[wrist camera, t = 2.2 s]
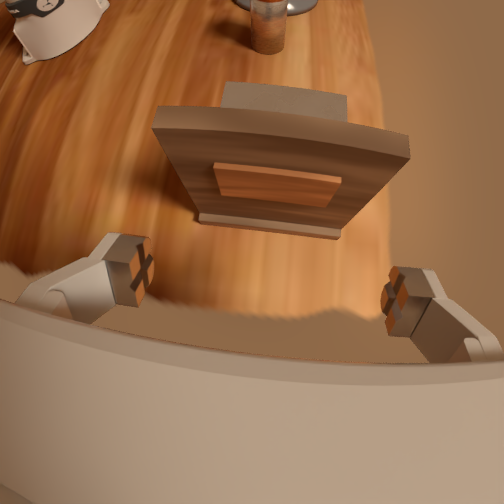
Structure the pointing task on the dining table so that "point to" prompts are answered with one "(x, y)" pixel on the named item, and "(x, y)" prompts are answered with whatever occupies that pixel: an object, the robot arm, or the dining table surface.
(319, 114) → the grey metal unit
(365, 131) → the wooden mounting board
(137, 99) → the dining table surface
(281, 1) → the spice shaker
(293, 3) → the charcoal plate
